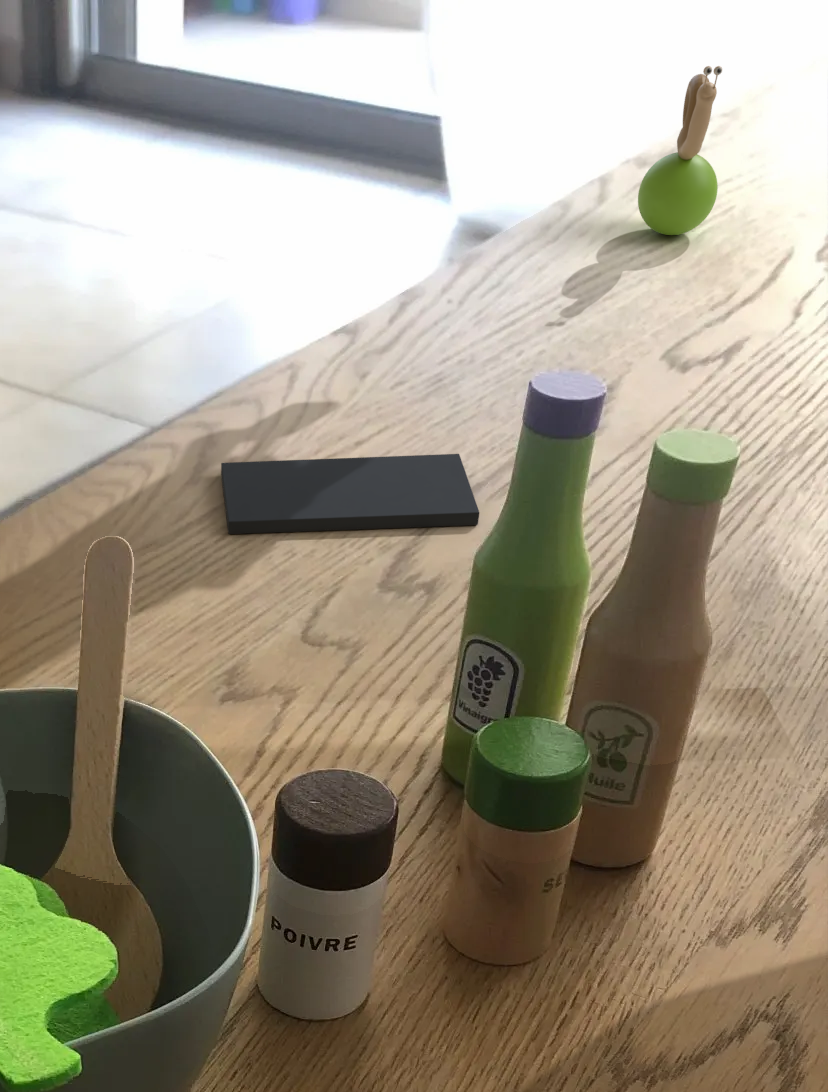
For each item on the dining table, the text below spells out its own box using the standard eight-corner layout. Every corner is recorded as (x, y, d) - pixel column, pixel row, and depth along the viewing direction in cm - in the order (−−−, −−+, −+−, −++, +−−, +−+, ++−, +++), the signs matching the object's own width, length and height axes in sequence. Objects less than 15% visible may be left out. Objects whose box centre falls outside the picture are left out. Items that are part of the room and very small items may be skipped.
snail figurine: (636, 251, 118) (672, 67, 109) (627, 218, 122) (661, 39, 114) (714, 252, 117) (756, 67, 109) (702, 219, 122) (742, 39, 113)
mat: (457, 466, 96) (459, 453, 96) (477, 525, 91) (479, 512, 91) (220, 475, 97) (221, 462, 96) (228, 534, 92) (228, 521, 91)
